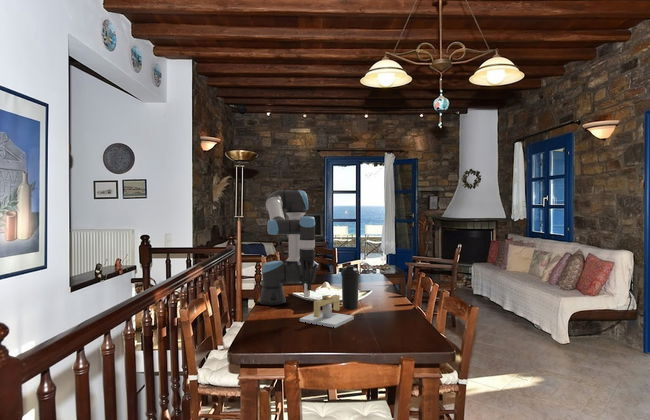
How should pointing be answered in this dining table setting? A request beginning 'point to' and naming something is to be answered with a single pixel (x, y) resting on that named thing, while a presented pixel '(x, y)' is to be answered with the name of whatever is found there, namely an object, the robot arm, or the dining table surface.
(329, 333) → the dining table surface
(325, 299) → the yellow u-shaped block
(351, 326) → the dining table surface
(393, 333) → the dining table surface
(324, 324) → the base
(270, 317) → the dining table surface
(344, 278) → the water bottle
